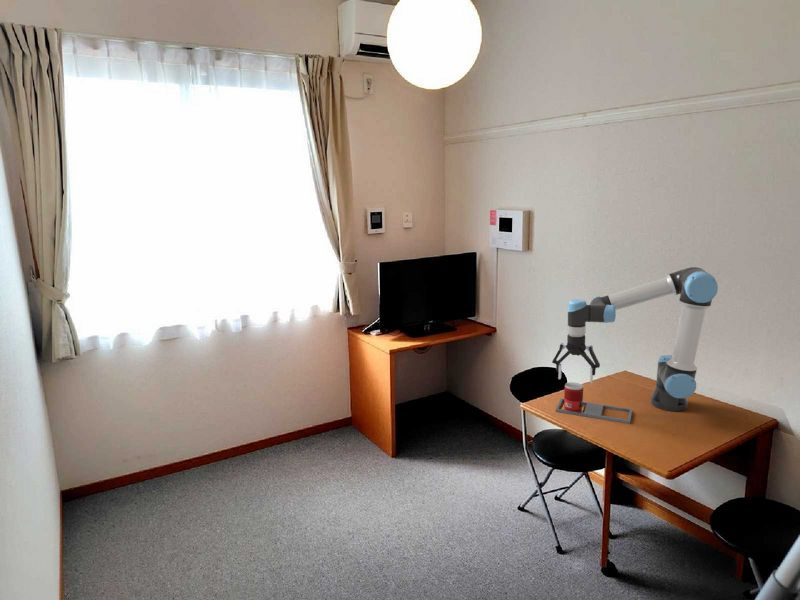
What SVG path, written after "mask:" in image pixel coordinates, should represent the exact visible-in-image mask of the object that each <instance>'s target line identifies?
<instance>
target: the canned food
mask: <svg viewBox="0 0 800 600" xmlns="http://www.w3.org/2000/svg"><path fill="white" fill-rule="evenodd" d="M563 399H564V402H563V405H564V407H565V409H567V410H570V411H580V410H581V409H582V404H583V402H584V401H583V399H584V385H583V384H581V383H579V382H566V383H565V384H564V395H563Z"/></svg>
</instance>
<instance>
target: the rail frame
mask: <svg viewBox="0 0 800 600" xmlns="http://www.w3.org/2000/svg"><path fill="white" fill-rule="evenodd" d="M563 403H564V398H560V400H559V402H558V404H557V405H556V408H555V413H562V414H567V415H573V416H574V415H575V416H579V415H580V416H581V417H585V418H586V417H588V418H593V419H599V420H604V421H610V422H611V421H612V422H617V423H623V424H629V425H630V424H631V420H632V414H633V408H627V407H622V406H621V407H620V406H612V405H606V404H601V403H600V404H599V403H593V402H586V401H583V404H582V409H581V410H580V411H570V410H567V409H565V407H564V404H563ZM562 404H563V405H562ZM561 406H562V407H561ZM604 409H607V410H613V411H620V412H627V413H628V417H627V419H625V418H619V417H613V416H606V415H602V414H603V411H604ZM583 411H584V412H583Z"/></svg>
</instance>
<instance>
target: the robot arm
mask: <svg viewBox="0 0 800 600" xmlns="http://www.w3.org/2000/svg"><path fill="white" fill-rule="evenodd" d="M718 291H719V285H718V282H717V280H716V278H715V277H714V276H713V274H711V273H710V272H708V271H706V270H704V269H703V268H700V267H696V266H695V267H694V266H692V267H687V268H683V269H680V270H677V271H674V272H671V273H668V274H667V275H666V276H665V277H663V278H660V279H656V280H653V281H650V282H649V281H648V282H646V283H643V284H640V285H637V286H634V287H631V288H627V289H625V290H620V291H618V292H615V293H610V294H607V295H605V296H595V297H593V298H592V299H591V300H590V302H589V304H587V301H586V300H585V299H580V298H577V299H576V298H575V299H571V300H569V301H568V306H567V331H566V332H567V335H566V336H567V339H566V340H567V343H563V342H562V343H560V344H559V348H558V351H556V354H555V356H554V358H553V360H552V363H551V364H555V366H556V367H555V371H556V372H557V373H558V375H557V376H558V377H557V379H558V380H561V378H562V362H563V361H564V360H565V359H566V358H567V357H568V356H569V355H570V354H571V356H578V357H579V356H581V357H582V358H584V360H585V361H586V362H587V364H588V365H589V366H590V371H589V373H590V374H589V383H590V384H592V383H593V378H594V376H595V375H596V371H597V370H596V369H599V368H600V366H601V363H600V362H599V359H598V357H597V355H596V353H595V352H594V346H593V345H588V346H587V345H586V325H587V324H586V323H606V324H607V323H614V322H615V321H616V313H617V311H618V310H622V309H624V308H629V307H631V306H632V307H633V306H635V305H638V304H642V303H645V302H648V301H653V300H656V299H659V298H662V297H665V296H669V295H675V296H677V295H680V296H679V300H678V302H680V304H681V306H682V307H681V311H680V316H679V320H678V321H679V322H678V325H677V329H676V330H677V331H676V336H675V341H674V345H673V350H672V354H671V355H670V354H662V355H660V356H659V357H658V358H657V359H658V360H657V370H656V372H657V373H656V383H655V387H654V390H653V391H652V394H651V396H650V404H651V405H652V406H654V407H655V408H657V409H660V410H665V411H668V412H669V411H670V412H682V411H685V410H687V408H688V399H687V398H690V396H692V395H694V394H695V392H696V390H697V381H696V380H695V379H696V375H697V370H698V368H697V366H696V364H695V360H696V355H697V350H698V345H699V341H700V337H701V332H702V328H703V323H704V319H705V314H706V310H707V309H708V308H710V307H711V306H712V301H713V299H714V298H715V297H716V296H717V294H718ZM565 349H566V350H567V351H566V352H565V353H564V354H563V355H562V356H561V357H560V358H559V359H558V357H559V356H560V354H561V352H562V351H563V350H565ZM586 350H587V351H588V352H589V355H590V356H591V358H590V357H589V356H588V354H587V352H586ZM557 359H558V360H557Z"/></svg>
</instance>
